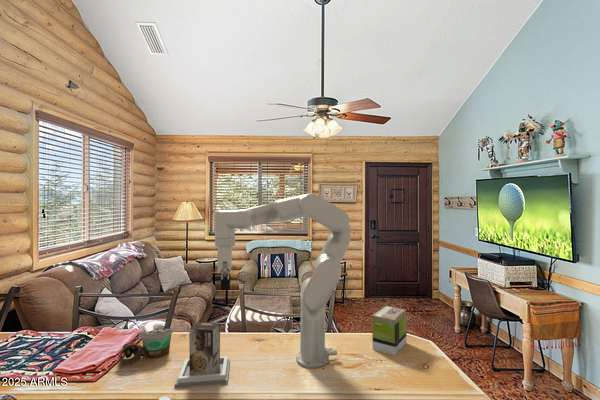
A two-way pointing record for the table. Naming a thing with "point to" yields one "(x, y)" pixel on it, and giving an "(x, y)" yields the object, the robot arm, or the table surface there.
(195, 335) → the coffee box
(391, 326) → the tea box
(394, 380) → the table surface
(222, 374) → the board
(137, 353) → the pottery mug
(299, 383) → the table surface
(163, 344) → the food container
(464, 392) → the table surface
